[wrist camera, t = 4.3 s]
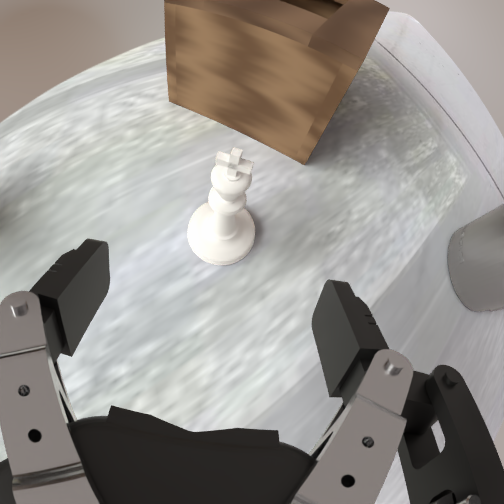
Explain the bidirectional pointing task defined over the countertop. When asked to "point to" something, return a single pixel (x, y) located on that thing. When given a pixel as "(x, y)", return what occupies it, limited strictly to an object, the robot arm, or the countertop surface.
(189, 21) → the walnut box
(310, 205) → the countertop surface
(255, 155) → the countertop surface
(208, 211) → the chess piece
